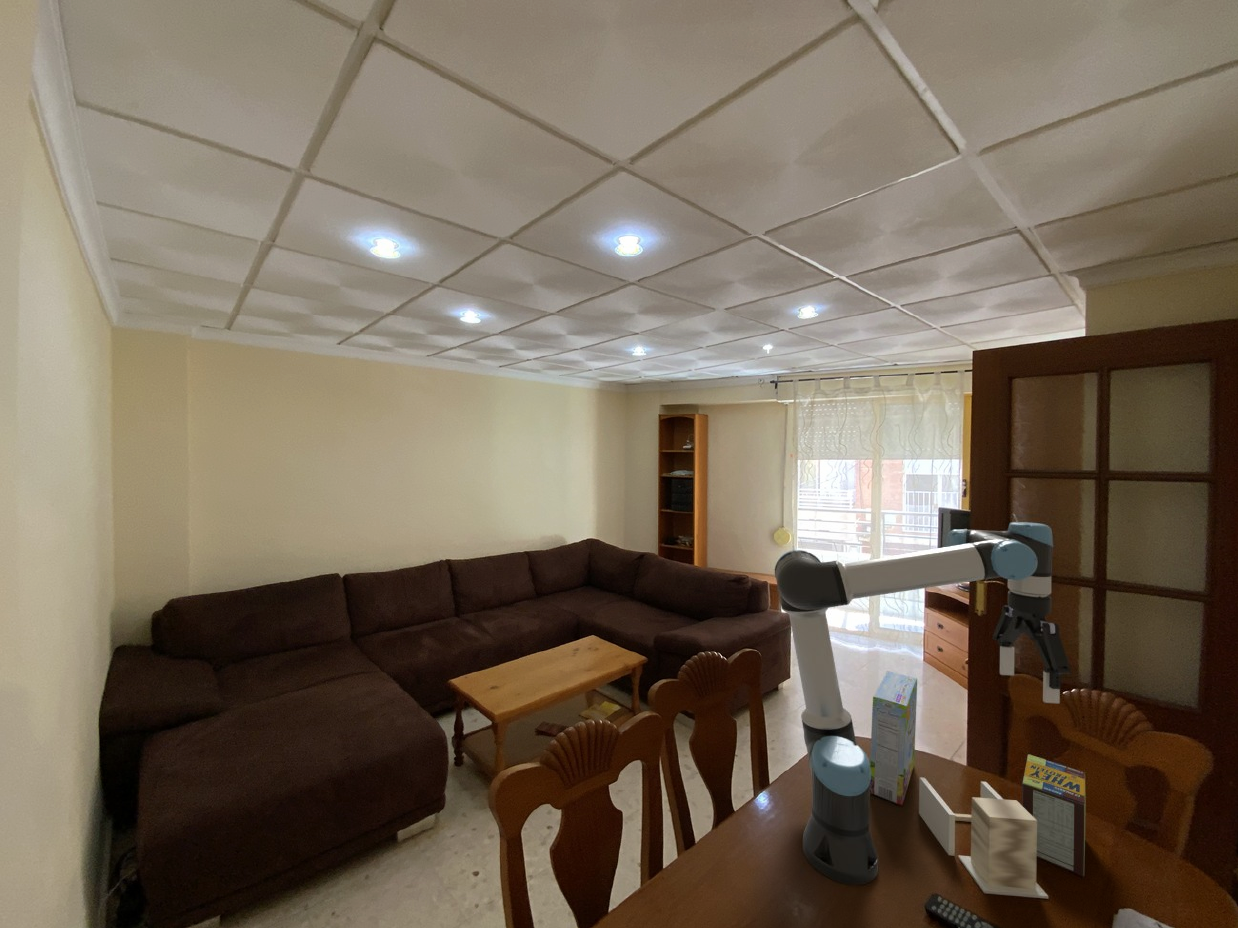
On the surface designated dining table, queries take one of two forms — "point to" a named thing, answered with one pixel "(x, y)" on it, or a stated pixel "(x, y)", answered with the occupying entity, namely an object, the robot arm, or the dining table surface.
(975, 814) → the block
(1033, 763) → the protein box
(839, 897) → the dining table surface
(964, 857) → the felt mat
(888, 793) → the snack box
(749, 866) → the dining table surface
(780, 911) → the dining table surface
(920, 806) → the shelf bay
